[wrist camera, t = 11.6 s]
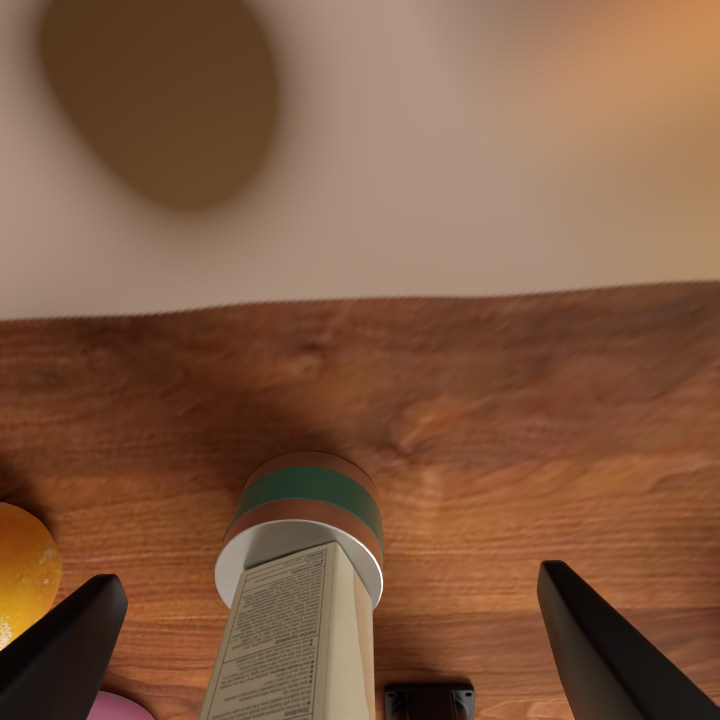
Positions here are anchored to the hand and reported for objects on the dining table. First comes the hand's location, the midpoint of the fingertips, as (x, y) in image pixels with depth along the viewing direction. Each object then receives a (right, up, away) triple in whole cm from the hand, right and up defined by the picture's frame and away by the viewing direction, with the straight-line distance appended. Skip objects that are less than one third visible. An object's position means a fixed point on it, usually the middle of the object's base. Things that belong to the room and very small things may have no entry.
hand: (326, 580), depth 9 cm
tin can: (-2, -4, +16) cm, 16 cm away
